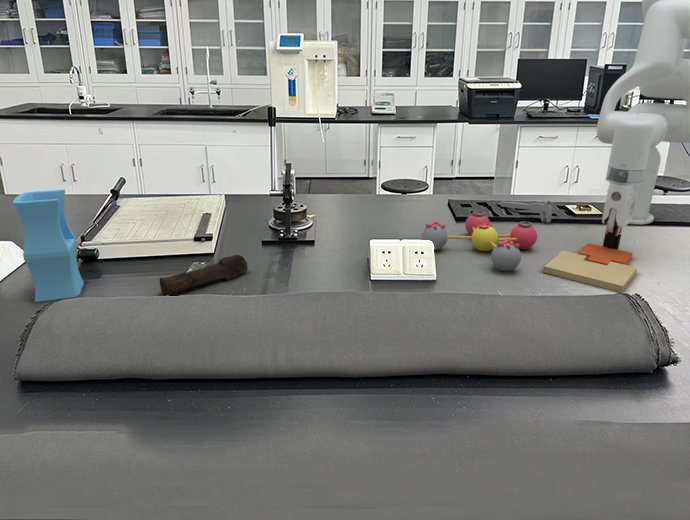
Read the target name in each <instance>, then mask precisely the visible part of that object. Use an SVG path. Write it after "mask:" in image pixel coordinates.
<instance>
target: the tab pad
mask: <svg viewBox="0 0 690 520" xmlns="http://www.w3.org/2000/svg"><path fill="white" fill-rule="evenodd" d="M633 253H634V252H631V251H626V250H622V249H619V248H618V249H613V248H611V249H610V248H607V247H603V245H598V244H593V243H589V242H588V243H586V245H584V246H583V247H582V248H581V249H580V250H579V251H578V253H577V254H580V255H584V256H587V259H586V261H589V262H593V263H598V264H602V265H606V266H607V265H608V264H609V263H610V261H611V262H615V263H620V264H624V265H629V263H630V261H631V260H632V258H633Z"/></svg>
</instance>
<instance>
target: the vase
mask: <svg viewBox="0 0 690 520" xmlns="http://www.w3.org/2000/svg"><path fill="white" fill-rule="evenodd" d="M65 197H66V189H52V190H39V191H38V190H37V191H26V192H21V193H19V194H18V195H17V196H16V197H15V198H14V200H12V205H13V207H14V208H15V211H16V213H17V215H18V217H19V219H20V221H21V225H22V228H23V235H24V236H23V253H22V257H23V261H24V262H25V264H26V266H27V267H28V269H29V271H30V274H31V276H32V279H33V283H34V303H38V302H39V303H40V302H46V301H56V300H57V301H58V300H65V299H72V298H76V297H78V296H80V295H81V292H82V289H83V287H84V280H83V278H82V275H81V273H80V270H79V266H78V261H77V237H76V235H75V234H74V233H73V231H72V229H71V227H70V225H69V223H68V220H67V218H66V212H65V211H66V210H65Z"/></svg>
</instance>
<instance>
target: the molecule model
mask: <svg viewBox="0 0 690 520" xmlns="http://www.w3.org/2000/svg"><path fill="white" fill-rule="evenodd" d="M464 223H465V224H464V228H465V230H466V232H467V234H468V235H448V232H447V230H446V226H447V225H446V224H442V222H438V221H434V220H432V222H430V223H425V228H423V231H422V232H421V237H420V238H421V241H422V240H430V241H432V242H433V244H434V247H435V250H434V251H437V250H440V249H442V248H444V246H446V244H447V242H448V239H453V240H454V239H456V240H457V239H459V240H462V239H463V240H471V243H472V245H473V247H474V248H475V249H477V250H479V251H481V252H489V251H491V256H490V259H491V262H492V265H493V266H494V267H495V268H496V269H497V270H499V271H503V272H510V271H513V270H515V269H516V268H517V267H518V266H519V265H520V263H521V260H522V253H521V251H520V250H528V249H530V248H532V247H533V246H535V244H536V243H537V240H538V231H537V230H536V228H535V227H534V226H533V223H532V222H530V221H519V222H518V224H516V225H515V226H514V227H513V228H512V229H511V231H510V233H508V234H498V231H497V230H496V229H495V228H494V227H493V225H492V223H491V221H490V219H489V217H488V216H487V215H486V212H485V211H481V210H475V211H473V212H472V214H470V215H468V217H467V218H466V220H465V222H464Z"/></svg>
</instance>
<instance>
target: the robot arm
mask: <svg viewBox="0 0 690 520" xmlns="http://www.w3.org/2000/svg"><path fill="white" fill-rule="evenodd" d="M641 8H642V9H641V11H642V17H643V25H642V28H641V32H640V37H639V41H638V45H637V49H636V52H635V56H634V61H633V64H632V67H631V68H630V69H628V70H627V71H626V72H625V73H624V74H623V75H621V76H620V77H619V78H618V79H617V80H616V81H615V82H614V83H613V84H612V85H611V87H610V88H609V90H608V91H607V92H606V94H605V96H604V98H603V102H602V105H601V108H600V113H599V117H598V121H597V125H596V138H597V139H598V141H600V142H601V143H603V144H608V145H611V148H610V154H609V159H608V164H607V169H606V175H605V181H606V182H608V183H609V184H608V187H607V193H606V197H605V202H604V206H603V211H602V216H601V217H602V218H601V224H603V225H606V227H605V233H604V238H603V243H602V246H603V247H607V248H610V249H611V248H613V249H618V250H619V248H620V243H621V239H622V232H623V228H625V227H626V226H628V225H640V226H641V225H649V224H652V223H653V222H654V219H655V216H654V215H653V214H651V213H650V209H651V205H652V201H653V195H654V191H655V187H656V182H657V179H658V174H659V169H660V165H661V162H662V161H661V158H662V157H661V153H660V151H659V149H658V148H657V146H658V145H659V144H660V143H661V142H662V143H674V144H675V143H677V144H690V59H689V58H687V59H686V58H684V57H683V55H684V51H685V47H686V43H687V40H688V39H690V0H642V1H641ZM636 88H638V90H639V93H640V94H641V95H642V96H644V97H647V98H655V99H676V100H683V101H685V103H686V104H673V103H660V102H659V103H658V102H640V103H637V104H634V105H633V106H631V107H630V108H629V109H628V110H627V111H624V110H623V111H621V110H616V108H617V107H616V106H617V105H618V102H619V101H620V100H621V98H623V96H624V95H626V94H627V93H628V92H631V91H632V90H634V89H636Z"/></svg>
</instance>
